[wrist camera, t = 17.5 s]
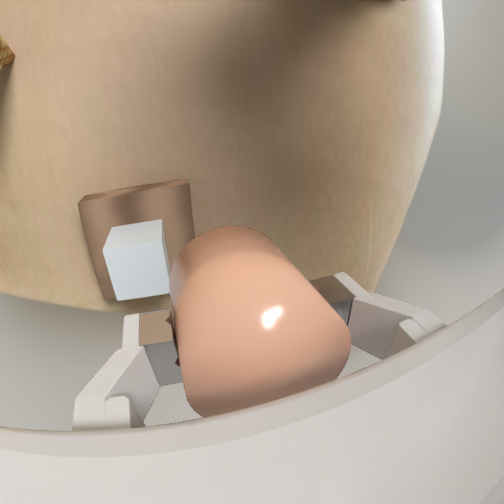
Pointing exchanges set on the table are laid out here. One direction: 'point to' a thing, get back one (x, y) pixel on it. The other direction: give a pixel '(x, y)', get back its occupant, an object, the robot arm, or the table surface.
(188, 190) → the walnut plinth
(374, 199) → the table surface
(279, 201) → the table surface
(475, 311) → the robot arm
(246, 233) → the peach rounded block
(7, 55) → the ice cream cone
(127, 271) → the white cube
